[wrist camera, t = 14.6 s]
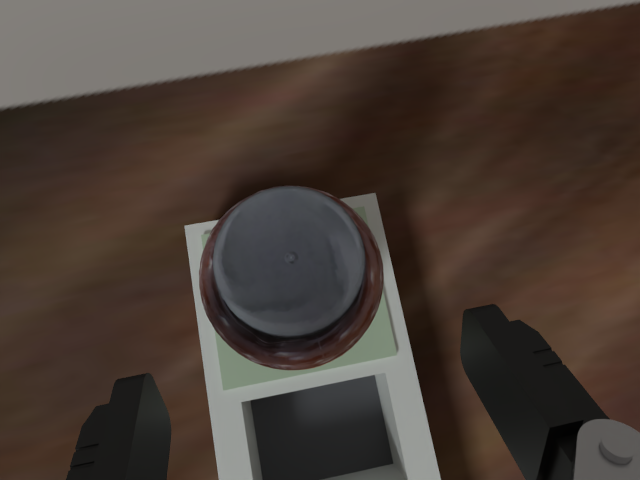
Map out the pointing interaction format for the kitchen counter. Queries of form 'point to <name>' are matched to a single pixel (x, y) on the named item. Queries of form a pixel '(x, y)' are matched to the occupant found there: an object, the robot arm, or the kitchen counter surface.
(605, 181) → the kitchen counter surface
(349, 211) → the supplement bottle
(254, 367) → the board
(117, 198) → the kitchen counter surface
